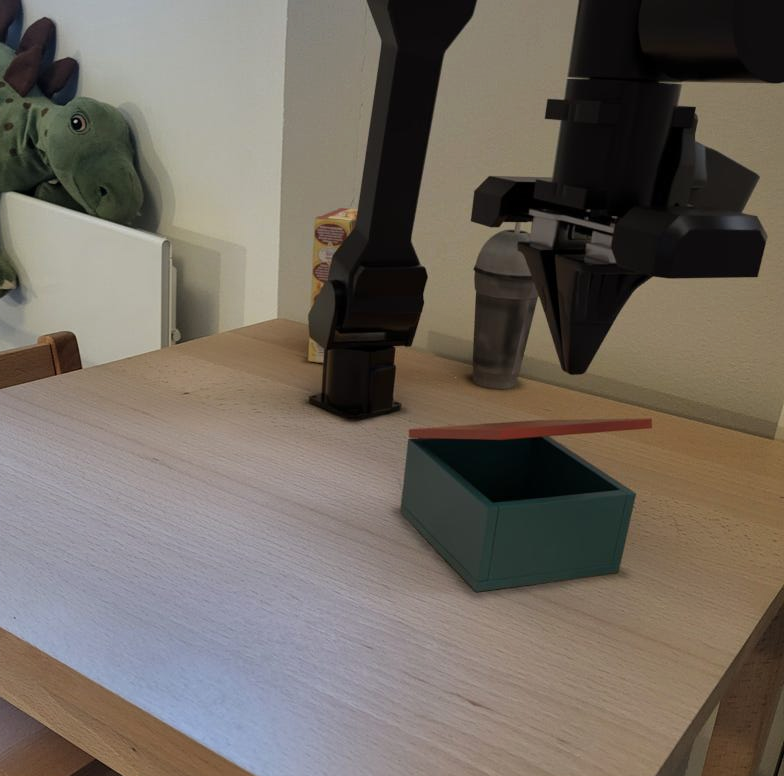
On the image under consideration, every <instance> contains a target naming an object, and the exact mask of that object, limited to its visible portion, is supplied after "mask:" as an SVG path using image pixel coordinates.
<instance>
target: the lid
mask: <svg viewBox="0 0 784 776" xmlns="http://www.w3.org/2000/svg"><path fill="white" fill-rule="evenodd" d="M652 428H653V419H652V418H649V417H648V418H647V417H645V418H644V417H643V418H589V419H588V418H587V419H583V418H582V419H579V418H578V419H535V420H521V421H507V422H506V421H505V422H493V423H478V424H476V423H475V424H465V425H464V424H463V425H450V426H436V427H435V426H433V427H421V428H409V429H408V439H412V438H417V439H418V438H438V439H482V440H506V439H519V438H532V437H545V436H549V437H557V436H569V435H582V434H594V433H595V434H597V433H608V432H623V431H633V430H634V431H635V430H636V431H637V430H646V429H648V430H649V429H652Z"/></svg>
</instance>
